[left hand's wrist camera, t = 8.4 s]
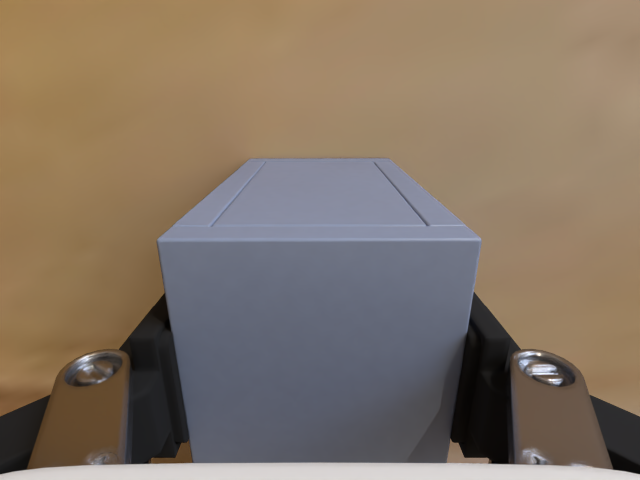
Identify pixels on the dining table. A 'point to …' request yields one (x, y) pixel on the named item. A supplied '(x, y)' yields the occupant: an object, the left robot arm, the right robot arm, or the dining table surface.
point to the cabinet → (319, 314)
